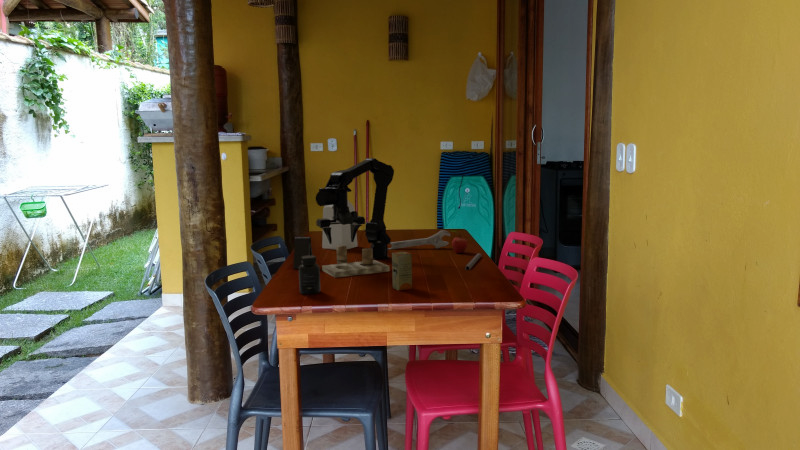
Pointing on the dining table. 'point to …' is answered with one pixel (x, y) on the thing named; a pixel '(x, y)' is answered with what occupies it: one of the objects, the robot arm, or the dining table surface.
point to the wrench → (423, 241)
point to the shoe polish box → (402, 270)
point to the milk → (338, 231)
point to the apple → (459, 244)
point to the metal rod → (473, 261)
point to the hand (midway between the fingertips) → (341, 243)
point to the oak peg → (341, 254)
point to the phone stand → (301, 250)
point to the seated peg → (367, 257)
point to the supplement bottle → (309, 276)
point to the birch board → (354, 269)
